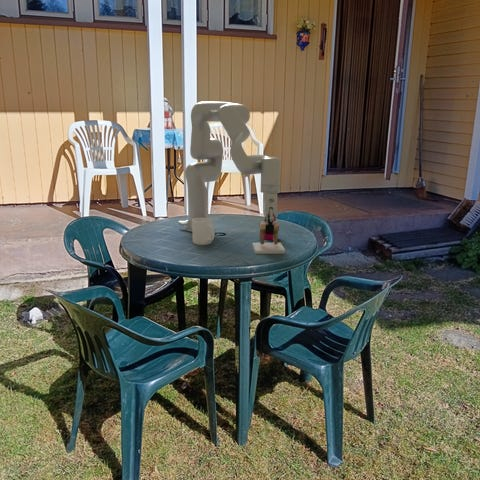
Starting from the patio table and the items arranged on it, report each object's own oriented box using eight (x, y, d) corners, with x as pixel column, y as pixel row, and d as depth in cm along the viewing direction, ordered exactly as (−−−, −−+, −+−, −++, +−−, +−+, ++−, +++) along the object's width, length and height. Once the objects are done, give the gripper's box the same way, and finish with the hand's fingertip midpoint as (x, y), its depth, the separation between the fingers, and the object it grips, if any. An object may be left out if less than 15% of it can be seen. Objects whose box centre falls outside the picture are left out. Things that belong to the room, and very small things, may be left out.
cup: (203, 239, 218) (203, 216, 215) (221, 244, 209) (221, 221, 206) (188, 242, 212) (188, 219, 209) (206, 248, 204) (206, 224, 201)
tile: (255, 253, 197) (255, 250, 196) (252, 245, 208) (252, 242, 208) (285, 253, 198) (285, 250, 197) (280, 245, 209) (280, 242, 209)
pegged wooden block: (278, 244, 200) (279, 224, 198) (260, 244, 200) (260, 224, 197) (276, 241, 205) (277, 221, 203) (258, 241, 204) (259, 221, 202)
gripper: (282, 192, 188) (280, 238, 193) (276, 185, 205) (274, 227, 210) (263, 192, 188) (261, 238, 193) (258, 185, 204) (257, 227, 209)
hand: (268, 232), depth 201 cm, fingers closed on pegged wooden block, 5 cm apart
